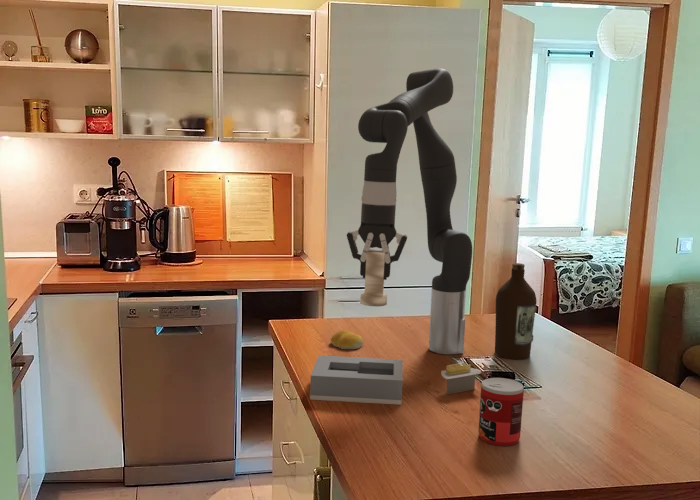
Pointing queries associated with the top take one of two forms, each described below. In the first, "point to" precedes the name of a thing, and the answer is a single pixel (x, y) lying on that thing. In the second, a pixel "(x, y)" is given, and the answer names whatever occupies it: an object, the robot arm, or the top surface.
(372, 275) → the maple peg
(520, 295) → the olive oil
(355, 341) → the bread roll
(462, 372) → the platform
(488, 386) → the canned food
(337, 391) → the keyhole plate
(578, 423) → the top surface
